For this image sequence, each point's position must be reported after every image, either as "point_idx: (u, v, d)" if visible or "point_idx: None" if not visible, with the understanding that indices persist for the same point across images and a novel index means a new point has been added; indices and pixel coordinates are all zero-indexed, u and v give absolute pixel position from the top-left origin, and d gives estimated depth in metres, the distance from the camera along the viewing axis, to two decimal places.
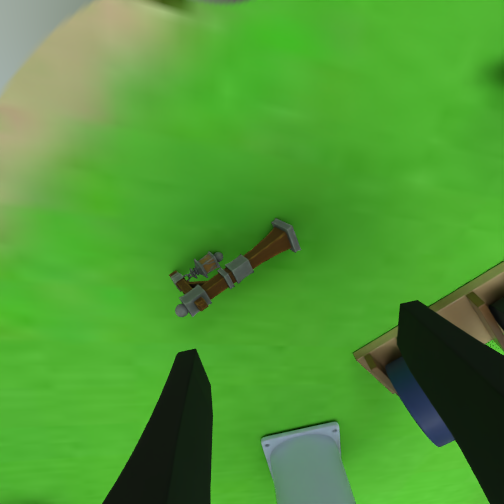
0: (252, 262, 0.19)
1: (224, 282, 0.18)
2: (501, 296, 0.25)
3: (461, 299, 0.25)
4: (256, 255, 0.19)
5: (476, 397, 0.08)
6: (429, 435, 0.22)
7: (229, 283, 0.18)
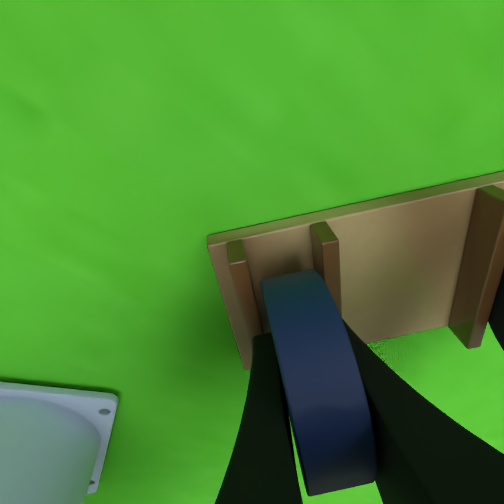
0: None
1: None
2: None
3: (464, 195, 0.12)
4: None
5: (372, 419, 0.08)
6: (307, 455, 0.07)
7: None
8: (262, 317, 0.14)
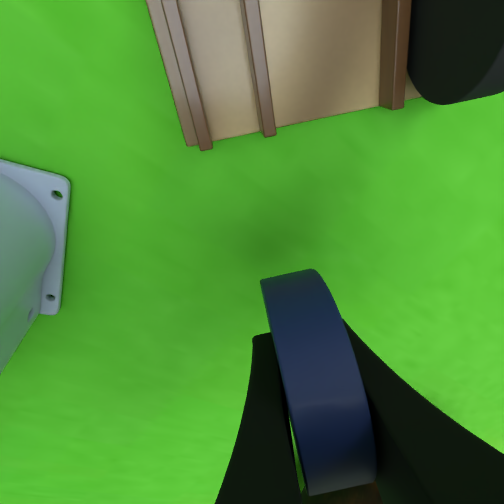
0: None
1: None
2: None
3: None
4: None
5: (372, 420, 0.08)
6: (306, 455, 0.07)
7: None
8: (197, 71, 0.14)
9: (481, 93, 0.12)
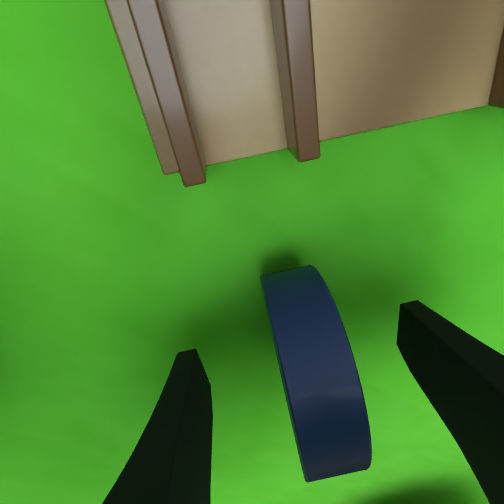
0: None
1: None
2: None
3: None
4: None
5: (476, 397, 0.08)
6: (305, 444, 0.08)
7: None
8: (177, 43, 0.08)
9: None
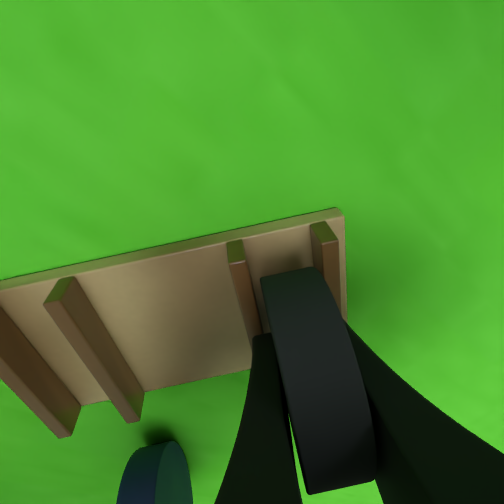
0: None
1: None
2: None
3: (217, 249, 0.12)
4: None
5: (372, 420, 0.08)
6: None
7: None
8: (50, 363, 0.13)
9: None
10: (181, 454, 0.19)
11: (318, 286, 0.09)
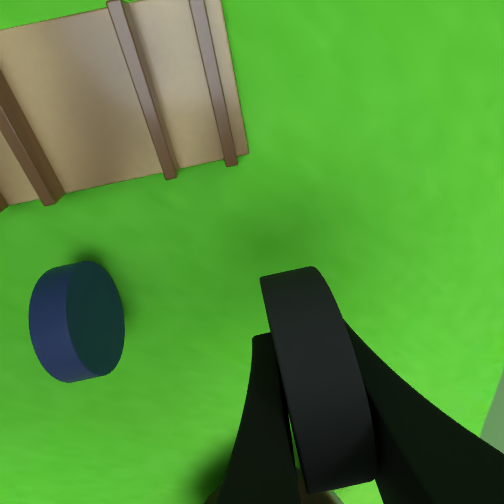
0: None
1: None
2: (183, 61, 0.14)
3: (107, 14, 0.13)
4: None
5: (373, 419, 0.08)
6: (38, 351, 0.15)
7: None
8: None
9: None
10: (113, 287, 0.21)
11: (318, 286, 0.09)
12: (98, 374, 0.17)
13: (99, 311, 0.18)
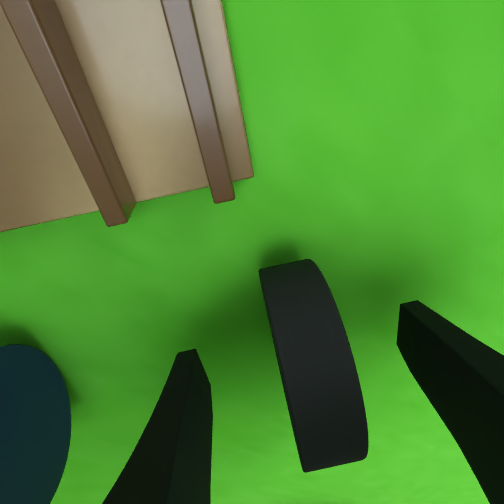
0: None
1: None
2: (129, 9, 0.08)
3: None
4: None
5: (476, 396, 0.08)
6: None
7: None
8: None
9: None
10: (51, 370, 0.14)
11: (314, 277, 0.09)
12: None
13: (17, 428, 0.12)
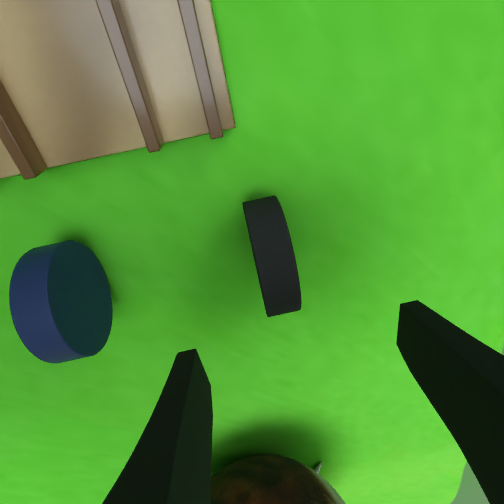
0: None
1: None
2: (165, 28, 0.14)
3: None
4: None
5: (476, 397, 0.08)
6: (20, 331, 0.15)
7: None
8: None
9: None
10: (100, 269, 0.20)
11: (276, 209, 0.16)
12: (83, 354, 0.17)
13: (84, 292, 0.18)
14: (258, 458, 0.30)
